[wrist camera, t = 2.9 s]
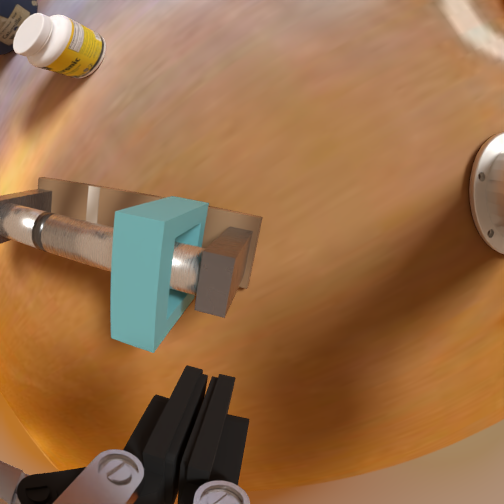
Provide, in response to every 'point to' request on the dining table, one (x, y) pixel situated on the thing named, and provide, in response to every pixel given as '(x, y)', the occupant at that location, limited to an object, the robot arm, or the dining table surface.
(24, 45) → the supplement bottle
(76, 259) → the rail
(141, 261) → the teal rectangular frame
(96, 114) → the dining table surface
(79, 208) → the base board
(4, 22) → the canister
